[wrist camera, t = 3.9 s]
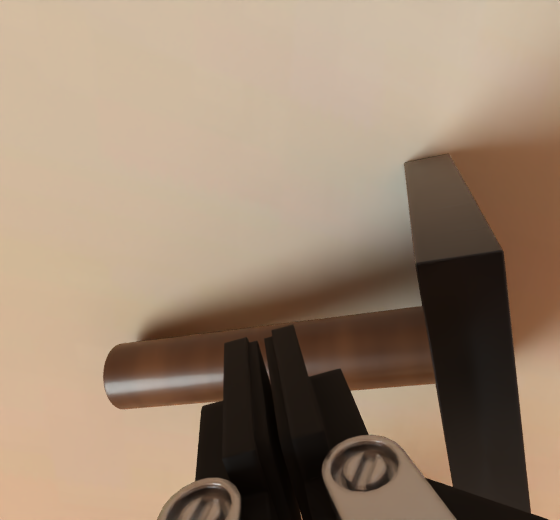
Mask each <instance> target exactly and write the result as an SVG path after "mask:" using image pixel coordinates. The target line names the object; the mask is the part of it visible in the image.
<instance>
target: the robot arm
mask: <svg viewBox="0 0 560 520" xmlns="http://www.w3.org/2000/svg"><path fill="white" fill-rule="evenodd" d="M271 332H272V336H271V337H268V338H264V342H265V349H266V355H267V362H268V369H269V375H270V380H269V377H268V374H267V370H266V367H265V364H264V360H263V357H262V354H261V350H260V347H259V344H258V341H253V342H249V340H248V338H247V337H244V338H241V339H237V340H233V341H230V342H226V343H224V376H223V401H219V402H216V403H212V404H208V405H205V406H203V407H202V410H201V420H200V432H199V443H198V455H197V467H196V478H195V482H193V483H191V484H189V485H187V486H185V487H183V488H182V489H180V490H179V491H178V492H177V493H175V494H174V495H173V496H172V497H171V498H170V499H169V500H168V501H167V503H166V504H165V505H164V506H163V508H162V510H161V512H160V514H159V516H158V518H157V520H301V515H302V518H303V520H548V519H545V518H543V517H540V516H537V515H534V514H531V513H528V512H525V511H522V510H519V509H516V508H513V507H510V506H507V505H504V504H501V503H498V502H495V501H492V500H489V499H486V498H483V497H480V496H477V495H474V494H472V493H469V492H466V491H463V490H460V489H457V488H454V487H451V486H448V485H445V484H442V483H439V482H436V481H433V480H430V479H427V478H425V477H424V476H423V475H422V473H421V472H420V471H419V469H418V468H417V467H416V466H415V464H414V463H413V462H412V460H411V459H410V458H409V456H408V455H407V454H406V452H405V451H404V450H403V449H402V448H401V447H400V446H399V445H398V444H397V443H396V442H394V441H392V440H390V439H388V438H386V437H382V436H376V435H369V434H368V432H367V430H366V427H365V425H364V422H363V420H362V418H361V415H360V413H359V410H358V408H357V406H356V403H355V401H354V399H353V396H352V394H351V391H350V389H349V387H348V384H347V382H346V379H345V377H344V375H343V372H342V370H341V369H340V368H339V369H335V370H331V371H328V372H324V373H321V374H317V375H313V376H310V377H309V376H308V373H307V369H306V366H305V363H304V359H303V356H302V352H301V349H300V345H299V342H298V338H297V335H296V332H295V328H294V325H293V324H292V325H288V326H284V327H281V328H277V329H274V330H271ZM270 382H271V384H270ZM300 512H301V514H300Z"/></svg>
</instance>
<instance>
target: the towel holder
mask: <svg viewBox="0 0 560 520" xmlns="http://www.w3.org/2000/svg"><path fill="white" fill-rule="evenodd" d="M404 168H405V177H406V186H407V195H408V204H409V213H410V221H411V230H412V239H413V248H414V257H415V266H416V272H417V277H418V283H419V289H420V295H421V301H422V306H419V307H411V308H403V309H395V310H387V311H379V312H371V313H363V314H355V315H347V316H339V317H331V318H323V319H315V320H307V321H299V322H291V323H283V324H275V325H267V326H259V327H251V328H243V329H235V330H227V331H219V332H211V333H203V334H195V335H187V336H179V337H171V338H163V339H155V340H147V341H139V342H131V343H123V344H119V345H117V346H115V347H114V348H113V349H112V350H111V351H110V353H109V354H108V356H107V359H106V361H105V365H104V373H103V380H104V387H105V391H106V394H107V396H108V398H109V400H110V402H111V403H112V404H113V405H114V406H115V407H117V408H119V409H133V408H145V407H157V406H169V405H182V404H194V403H206V402H218V401H223V376H224V343H226V342H230V341H233V340H237V339H241V338H244V337H247V338H248V340H249V342H253V341H258V344H259V347H260V350H261V354H262V357H263V360H264V364H265V367H266V370H267V374H268V377H269V380H270V375H269V369H268V362H267V355H266V349H265V342H264V338H268V337H271V336H272V332H271V330H274V329H277V328H281V327H284V326H288V325H292V324H293V325H294V328H295V332H296V335H297V338H298V342H299V345H300V349H301V352H302V356H303V359H304V363H305V366H306V369H307V373H308V376H309V377H310V376H313V375H317V374H321V373H324V372H328V371H331V370H335V369H339V368H340V369H341V370H342V372H343V375H344V377H345V379H346V382H347V384H348V387H349V389H350V391H352V390H364V389H376V388H388V387H401V386H413V385H425V384H436V389H437V395H438V401H439V407H440V413H441V419H442V425H443V430H444V436H445V442H446V448H447V454H448V460H449V466H450V472H451V478H452V483H453V487H454V488H457V489H460V490H463V491H466V492H469V493H472V494H474V495H477V496H480V497H483V498H486V499H489V500H492V501H495V502H498V503H501V504H504V505H507V506H510V507H513V508H516V509H519V510H522V511H525V512H528V513H531V509H530V500H529V490H528V481H527V471H526V462H525V452H524V443H523V433H522V424H521V414H520V404H519V395H518V385H517V376H516V366H515V357H514V347H513V338H512V328H511V318H510V309H509V299H508V290H507V280H506V271H505V261H504V252H503V250H502V248H501V246H500V245H499V243H498V241H497V239H496V237H495V236H494V234H493V232H492V230H491V228H490V227H489V225H488V223H487V221H486V219H485V218H484V216H483V214H482V212H481V210H480V209H479V207H478V205H477V203H476V201H475V200H474V198H473V196H472V194H471V192H470V191H469V189H468V187H467V185H466V183H465V182H464V180H463V178H462V176H461V174H460V173H459V171H458V169H457V167H456V165H455V164H454V162H453V160H452V158H451V156H450V155H449V154H444V155H439V156H434V157H429V158H425V159H420V160H415V161H410V162H405V163H404ZM270 384H271V382H270Z"/></svg>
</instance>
